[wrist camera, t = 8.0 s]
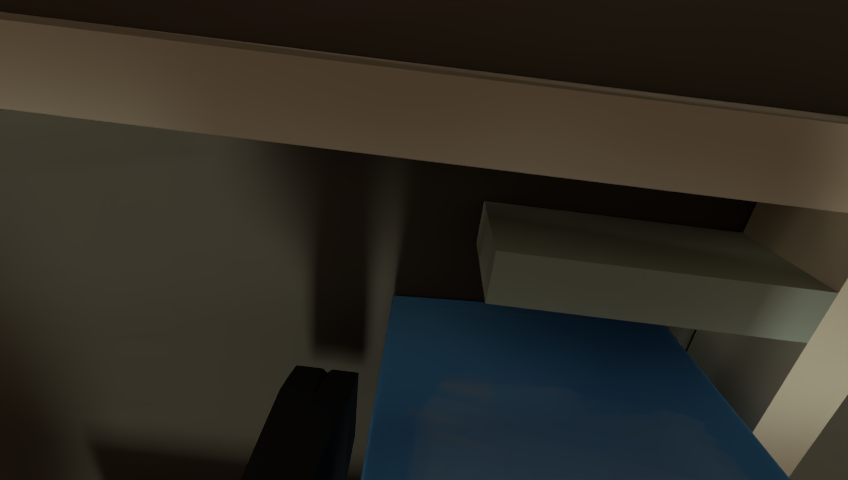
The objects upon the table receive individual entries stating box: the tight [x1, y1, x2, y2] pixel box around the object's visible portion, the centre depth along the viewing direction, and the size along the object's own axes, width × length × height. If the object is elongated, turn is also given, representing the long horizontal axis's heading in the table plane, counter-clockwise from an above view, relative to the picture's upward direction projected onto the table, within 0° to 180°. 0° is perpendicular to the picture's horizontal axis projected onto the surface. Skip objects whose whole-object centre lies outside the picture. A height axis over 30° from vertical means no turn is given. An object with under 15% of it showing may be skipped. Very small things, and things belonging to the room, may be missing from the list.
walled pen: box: [0, 12, 848, 477], centre depth 10 cm, size 15×17×2 cm
